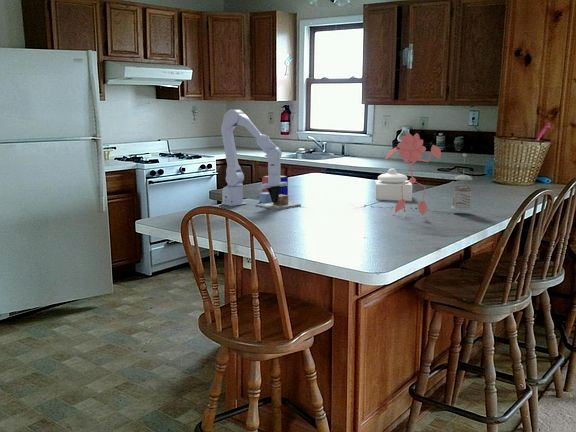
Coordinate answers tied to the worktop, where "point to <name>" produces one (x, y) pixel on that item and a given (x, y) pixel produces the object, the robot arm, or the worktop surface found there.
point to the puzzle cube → (284, 188)
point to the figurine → (412, 151)
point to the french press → (462, 193)
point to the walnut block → (282, 200)
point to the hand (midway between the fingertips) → (274, 202)
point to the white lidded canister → (393, 186)
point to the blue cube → (264, 197)
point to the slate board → (278, 207)
